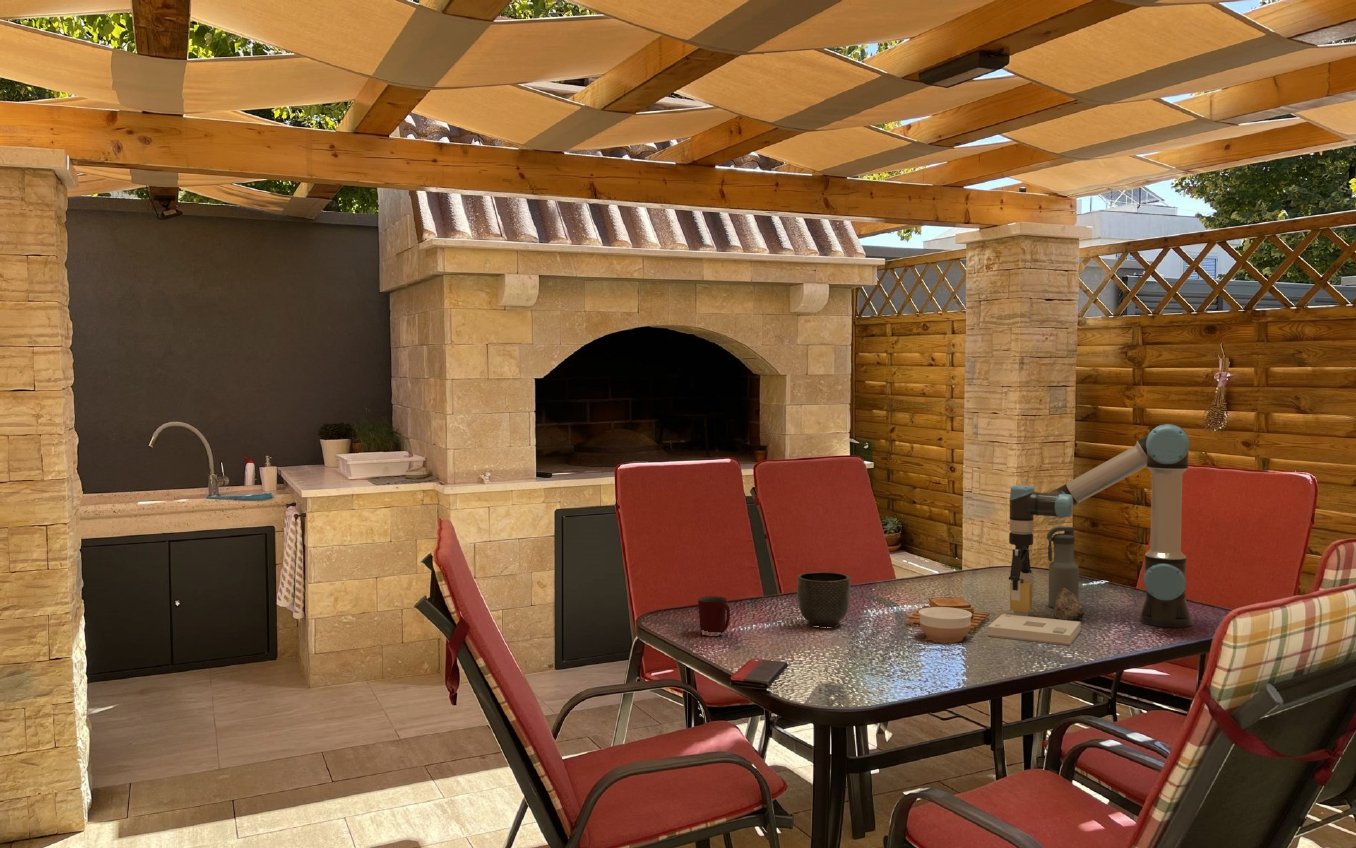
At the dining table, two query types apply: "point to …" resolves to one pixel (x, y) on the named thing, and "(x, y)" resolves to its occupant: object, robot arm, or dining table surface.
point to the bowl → (945, 623)
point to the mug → (713, 614)
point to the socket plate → (1035, 629)
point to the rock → (1068, 606)
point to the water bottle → (1062, 563)
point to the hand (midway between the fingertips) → (1019, 596)
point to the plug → (1022, 599)
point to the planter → (823, 597)
